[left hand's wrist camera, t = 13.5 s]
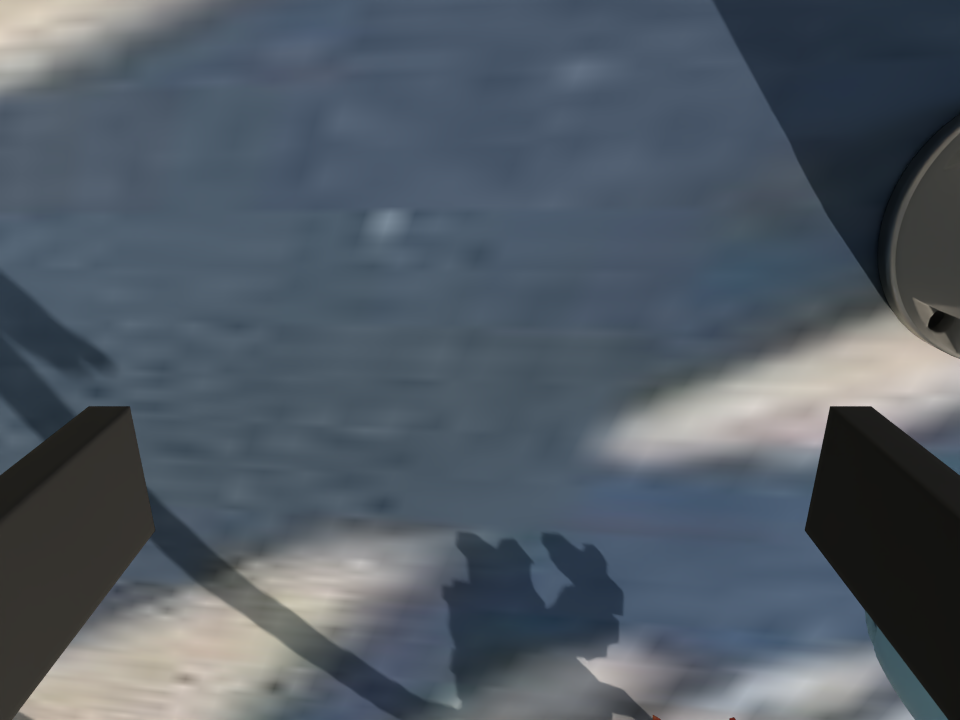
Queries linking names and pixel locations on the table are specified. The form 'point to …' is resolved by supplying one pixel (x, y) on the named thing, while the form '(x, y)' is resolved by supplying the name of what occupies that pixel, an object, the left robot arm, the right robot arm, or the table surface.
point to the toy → (656, 719)
